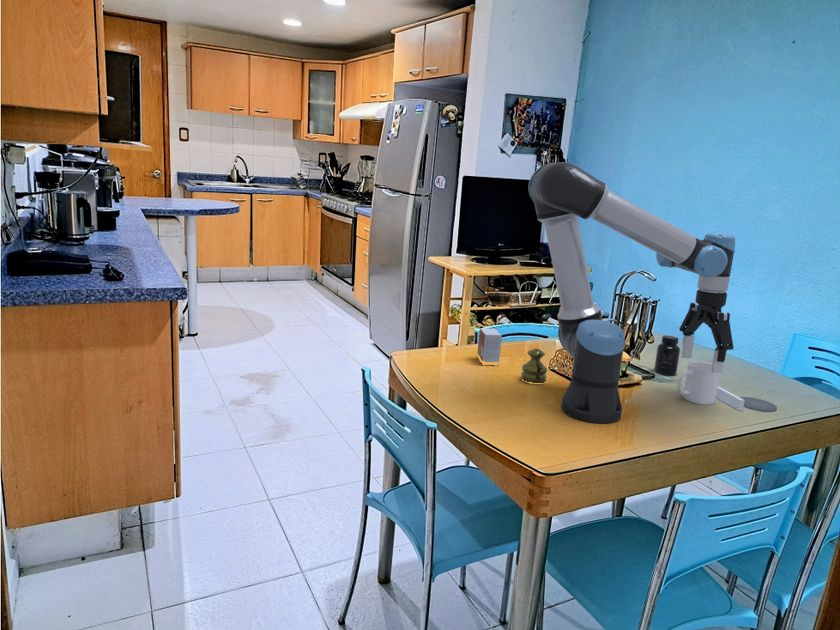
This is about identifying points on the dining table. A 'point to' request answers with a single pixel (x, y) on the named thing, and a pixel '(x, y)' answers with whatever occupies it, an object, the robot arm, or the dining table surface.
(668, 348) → the supplement bottle
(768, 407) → the coaster
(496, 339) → the small box
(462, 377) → the dining table surface
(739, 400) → the acrylic wall
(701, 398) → the cup
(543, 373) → the olive green tiered piece
